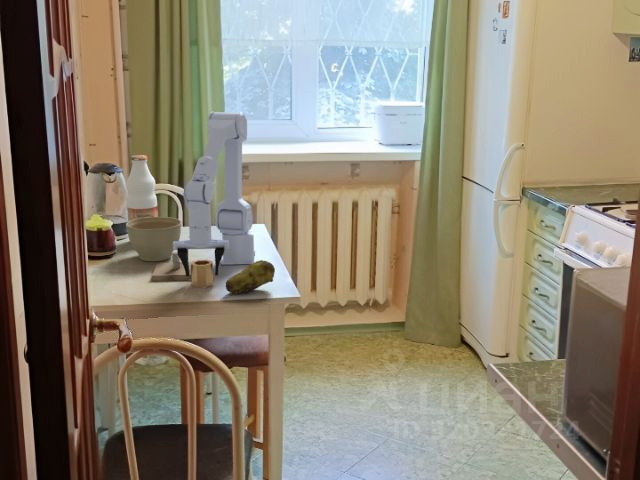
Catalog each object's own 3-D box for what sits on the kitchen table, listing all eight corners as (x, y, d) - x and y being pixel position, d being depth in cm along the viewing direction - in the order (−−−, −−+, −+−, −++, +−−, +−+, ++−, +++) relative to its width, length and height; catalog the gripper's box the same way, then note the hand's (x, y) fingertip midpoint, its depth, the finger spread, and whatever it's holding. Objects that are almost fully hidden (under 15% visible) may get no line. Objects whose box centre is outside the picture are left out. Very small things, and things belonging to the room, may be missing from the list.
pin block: (200, 266, 227) (199, 246, 225) (196, 279, 215) (195, 258, 214) (158, 268, 226) (156, 247, 225) (152, 280, 215) (150, 259, 213)
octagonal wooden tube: (213, 280, 214) (213, 259, 213) (212, 287, 209) (211, 265, 208) (193, 281, 214) (192, 260, 213) (191, 287, 209) (190, 266, 207)
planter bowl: (166, 267, 227) (164, 230, 224) (118, 262, 232) (115, 226, 229) (192, 252, 241) (191, 218, 239) (146, 248, 246) (144, 214, 244)
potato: (226, 287, 209) (225, 258, 207) (274, 285, 210) (274, 256, 208) (225, 297, 201) (224, 267, 199) (276, 295, 202) (275, 265, 200)
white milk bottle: (123, 243, 252) (117, 157, 244) (143, 237, 260) (137, 153, 252) (146, 247, 247) (140, 159, 240) (165, 240, 255) (160, 155, 248)
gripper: (170, 229, 203) (173, 280, 207) (227, 228, 204) (228, 278, 207) (173, 223, 210) (176, 272, 213) (228, 222, 211) (229, 270, 214)
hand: (202, 274), depth 211 cm, fingers open, 7 cm apart
